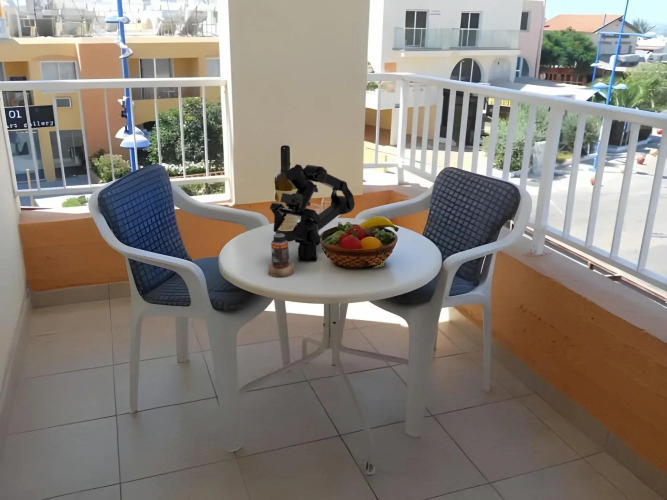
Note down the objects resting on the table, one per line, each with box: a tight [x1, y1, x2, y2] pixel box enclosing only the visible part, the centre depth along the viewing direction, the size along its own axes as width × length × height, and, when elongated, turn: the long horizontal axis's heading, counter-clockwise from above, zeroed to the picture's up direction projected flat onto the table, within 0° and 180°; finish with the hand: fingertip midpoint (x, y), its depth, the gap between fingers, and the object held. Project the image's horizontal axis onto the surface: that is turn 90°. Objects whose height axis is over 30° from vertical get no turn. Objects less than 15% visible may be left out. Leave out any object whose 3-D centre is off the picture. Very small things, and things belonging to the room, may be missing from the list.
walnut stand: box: [268, 261, 295, 278], centre depth 203 cm, size 9×9×2 cm
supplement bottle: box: [270, 232, 290, 268], centre depth 201 cm, size 6×6×11 cm
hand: (284, 233), depth 201 cm, fingers open, 9 cm apart
